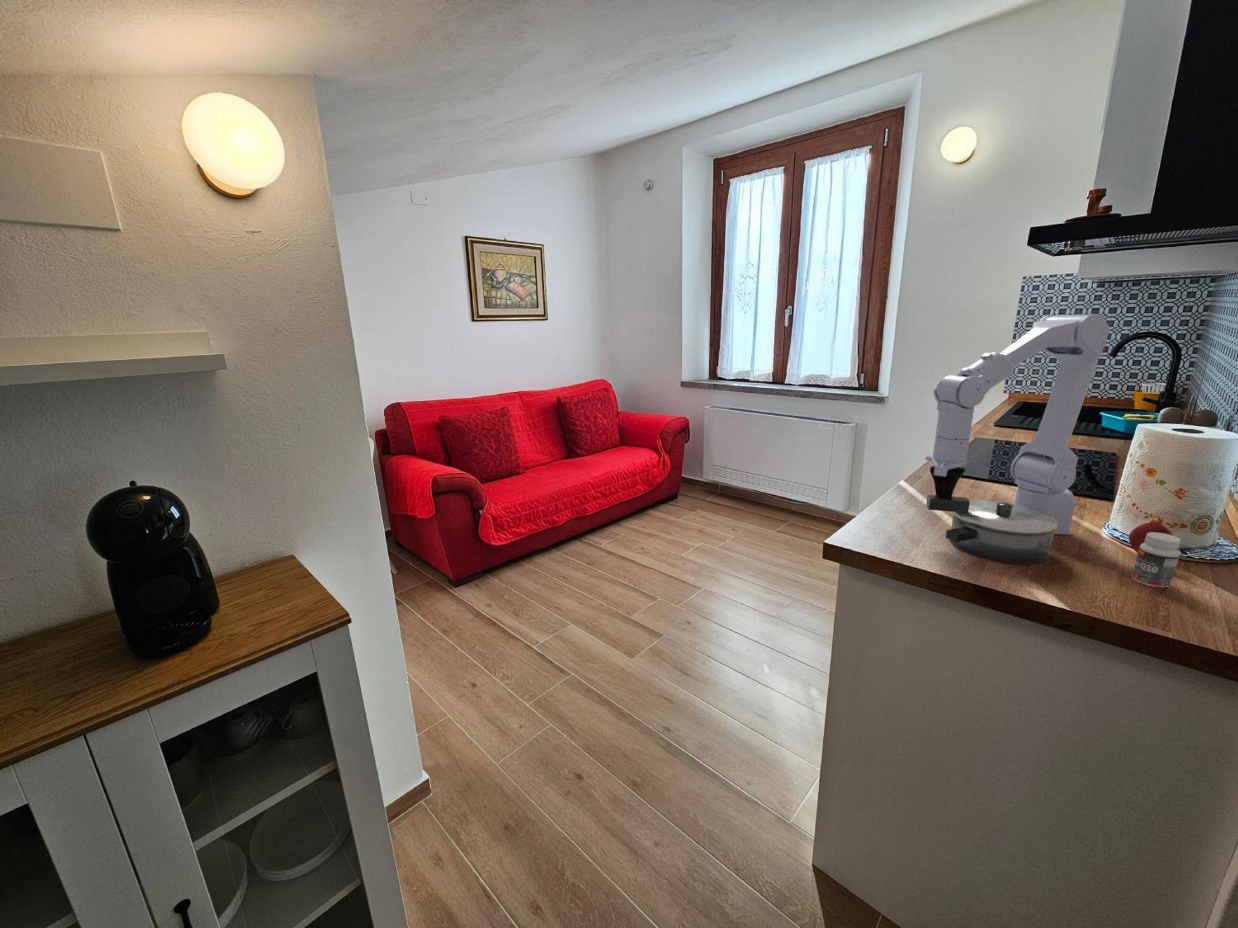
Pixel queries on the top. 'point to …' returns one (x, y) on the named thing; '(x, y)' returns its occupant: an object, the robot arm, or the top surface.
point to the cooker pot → (999, 544)
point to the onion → (1141, 531)
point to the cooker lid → (995, 515)
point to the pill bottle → (1157, 560)
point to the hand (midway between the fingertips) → (942, 502)
